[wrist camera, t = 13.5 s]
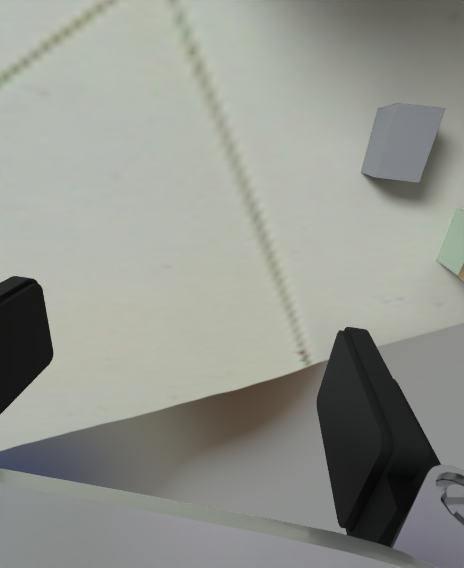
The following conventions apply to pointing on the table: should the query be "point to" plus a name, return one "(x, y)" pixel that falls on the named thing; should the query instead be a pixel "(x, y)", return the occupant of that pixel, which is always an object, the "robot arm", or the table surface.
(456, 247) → the sage brick
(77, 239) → the table surface
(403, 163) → the grey toy block
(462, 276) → the walnut brick
